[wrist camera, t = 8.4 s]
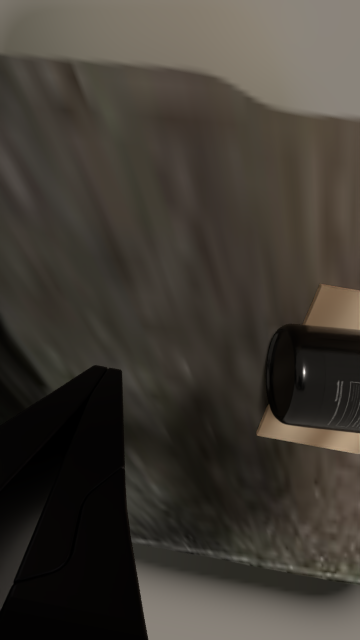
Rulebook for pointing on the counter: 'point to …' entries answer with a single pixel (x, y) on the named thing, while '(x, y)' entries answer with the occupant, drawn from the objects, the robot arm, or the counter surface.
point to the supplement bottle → (315, 377)
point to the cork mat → (326, 311)
